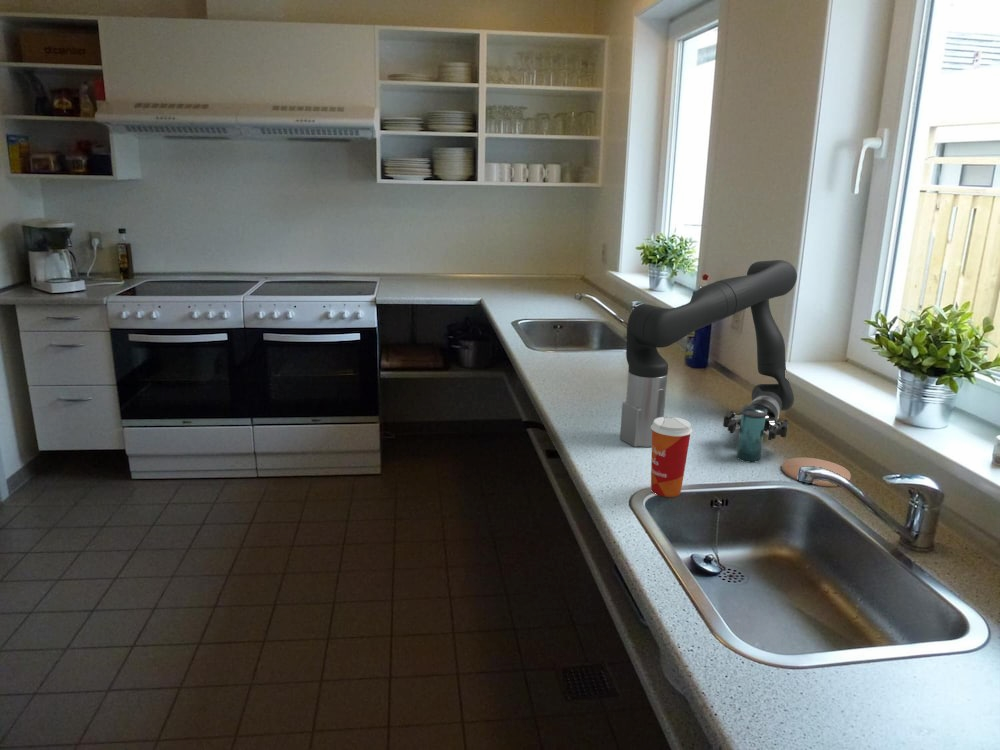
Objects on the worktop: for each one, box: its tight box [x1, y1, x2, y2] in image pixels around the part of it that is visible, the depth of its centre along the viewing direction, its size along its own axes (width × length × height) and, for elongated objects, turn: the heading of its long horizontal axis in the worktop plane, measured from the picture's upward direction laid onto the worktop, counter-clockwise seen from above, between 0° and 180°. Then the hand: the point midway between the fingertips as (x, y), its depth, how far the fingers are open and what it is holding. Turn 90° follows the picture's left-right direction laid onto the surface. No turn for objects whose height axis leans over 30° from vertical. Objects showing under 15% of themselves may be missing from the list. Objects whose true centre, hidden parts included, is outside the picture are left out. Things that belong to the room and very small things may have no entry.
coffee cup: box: [650, 416, 693, 498], centre depth 150 cm, size 8×8×15 cm
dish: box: [781, 456, 852, 488], centre depth 163 cm, size 14×14×1 cm
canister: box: [736, 404, 767, 463], centre depth 170 cm, size 6×6×12 cm
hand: (750, 432), depth 169 cm, fingers open, 8 cm apart
